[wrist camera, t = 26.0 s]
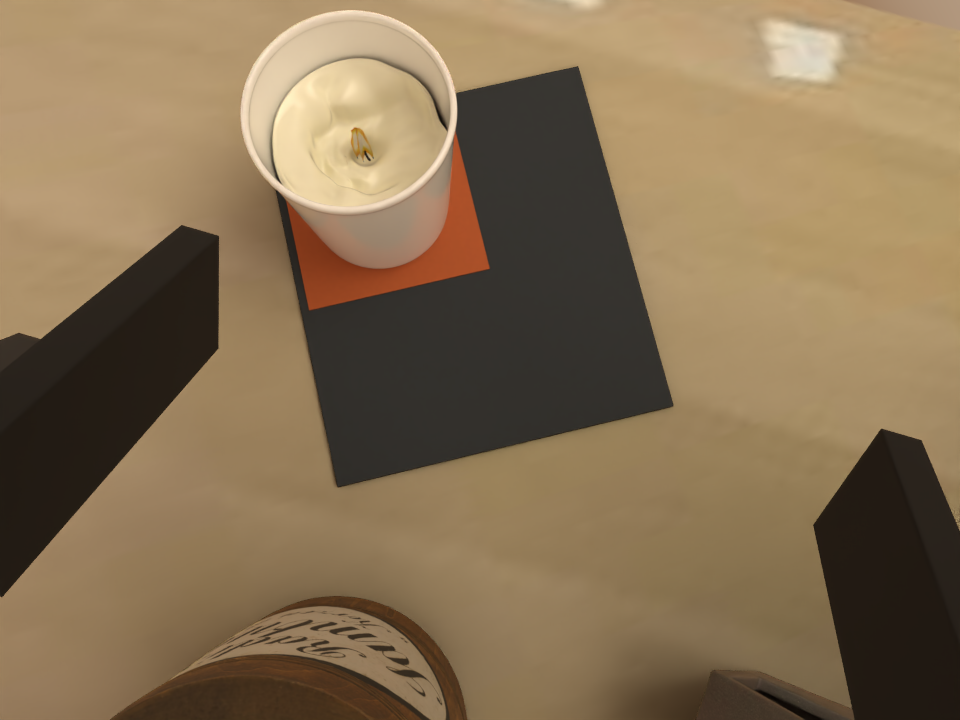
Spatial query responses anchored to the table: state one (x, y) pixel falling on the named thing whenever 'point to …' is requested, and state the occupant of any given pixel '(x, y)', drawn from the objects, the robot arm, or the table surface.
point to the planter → (763, 699)
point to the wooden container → (314, 670)
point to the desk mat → (486, 299)
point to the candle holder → (355, 133)
